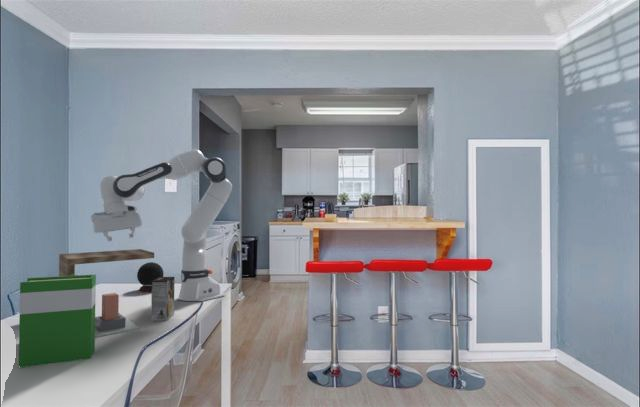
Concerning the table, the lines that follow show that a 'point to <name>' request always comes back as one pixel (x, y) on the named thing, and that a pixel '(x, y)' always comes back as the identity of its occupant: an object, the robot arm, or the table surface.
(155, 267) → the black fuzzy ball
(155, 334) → the table surface
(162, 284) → the coffee box
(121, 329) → the socket
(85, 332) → the hardback book
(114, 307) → the peg
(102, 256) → the l-shaped wooden plank
